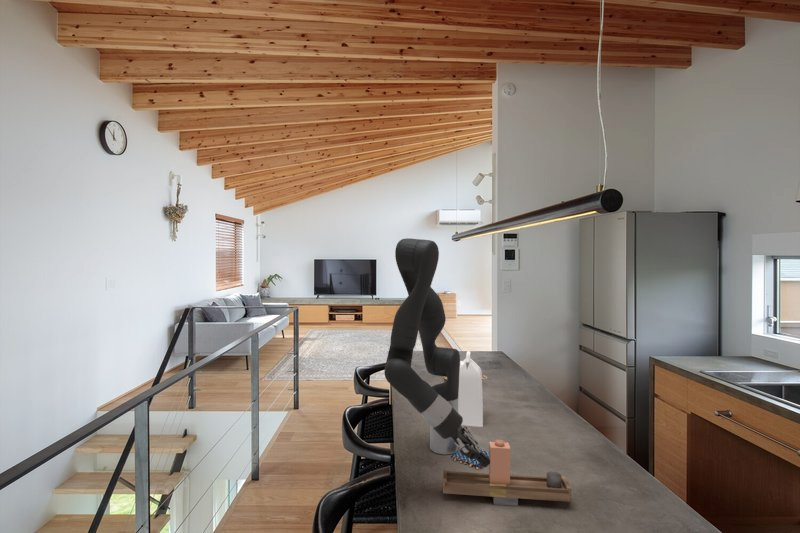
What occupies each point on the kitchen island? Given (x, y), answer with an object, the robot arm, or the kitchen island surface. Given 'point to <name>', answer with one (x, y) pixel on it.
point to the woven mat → (468, 459)
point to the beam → (508, 487)
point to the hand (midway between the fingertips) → (487, 464)
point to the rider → (499, 462)
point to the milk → (470, 393)
